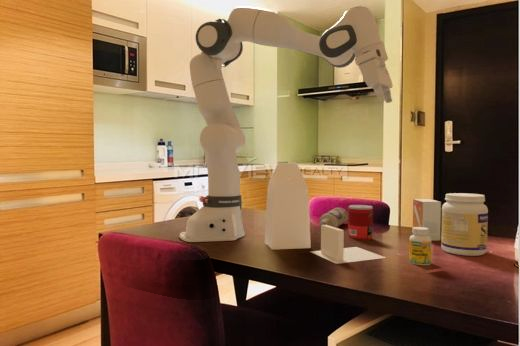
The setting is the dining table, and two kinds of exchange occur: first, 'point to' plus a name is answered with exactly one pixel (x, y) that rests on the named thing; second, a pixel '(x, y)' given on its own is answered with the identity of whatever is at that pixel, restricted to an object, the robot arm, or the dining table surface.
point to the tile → (332, 242)
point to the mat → (351, 255)
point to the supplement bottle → (420, 246)
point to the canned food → (360, 222)
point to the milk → (287, 209)
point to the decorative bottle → (334, 217)
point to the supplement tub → (464, 224)
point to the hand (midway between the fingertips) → (386, 101)
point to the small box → (427, 216)
